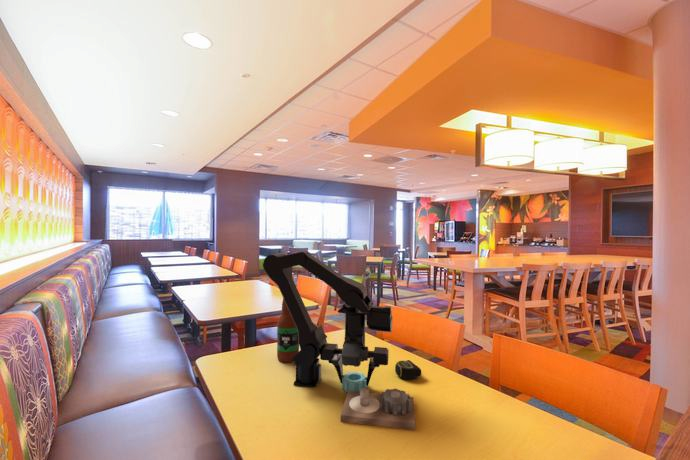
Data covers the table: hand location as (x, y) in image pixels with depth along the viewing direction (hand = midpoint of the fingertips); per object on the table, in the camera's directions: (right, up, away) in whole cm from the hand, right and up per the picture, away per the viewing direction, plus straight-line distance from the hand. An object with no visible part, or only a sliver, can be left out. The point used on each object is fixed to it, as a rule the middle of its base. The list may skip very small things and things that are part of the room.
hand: (354, 383), depth 90 cm
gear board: (+6, -1, -12) cm, 13 cm away
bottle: (-22, -1, +19) cm, 29 cm away
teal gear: (0, -1, 0) cm, 1 cm away
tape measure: (+17, -1, +8) cm, 19 cm away
